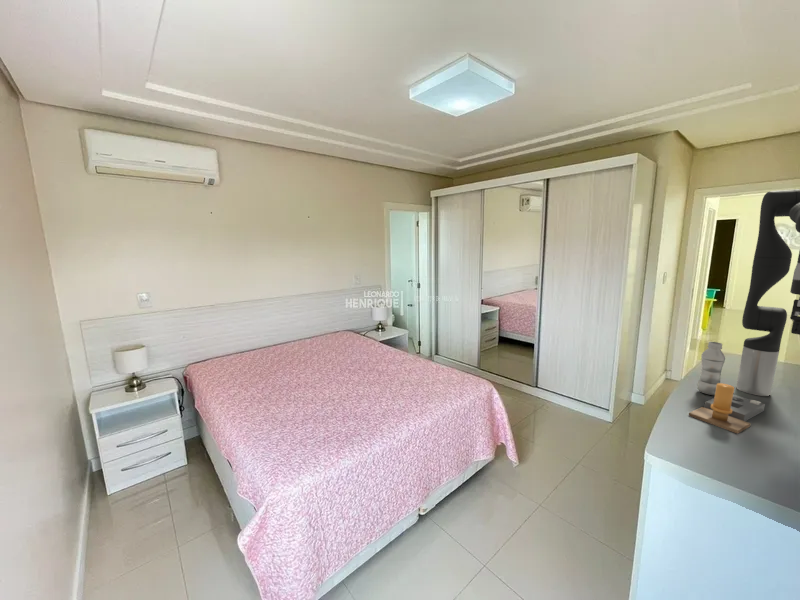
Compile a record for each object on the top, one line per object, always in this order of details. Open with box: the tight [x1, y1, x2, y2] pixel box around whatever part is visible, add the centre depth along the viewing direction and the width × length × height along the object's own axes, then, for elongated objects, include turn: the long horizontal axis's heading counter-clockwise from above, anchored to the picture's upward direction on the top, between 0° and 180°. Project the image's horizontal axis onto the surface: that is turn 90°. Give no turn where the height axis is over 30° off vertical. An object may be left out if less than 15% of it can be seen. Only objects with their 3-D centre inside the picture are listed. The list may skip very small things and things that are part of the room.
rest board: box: [688, 406, 751, 434], centre depth 106 cm, size 9×12×1 cm
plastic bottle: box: [696, 341, 726, 396], centre depth 124 cm, size 6×7×20 cm
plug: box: [710, 382, 735, 421], centre depth 105 cm, size 5×5×11 cm
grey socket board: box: [703, 394, 766, 422], centre depth 113 cm, size 16×10×3 cm, turn 117°
